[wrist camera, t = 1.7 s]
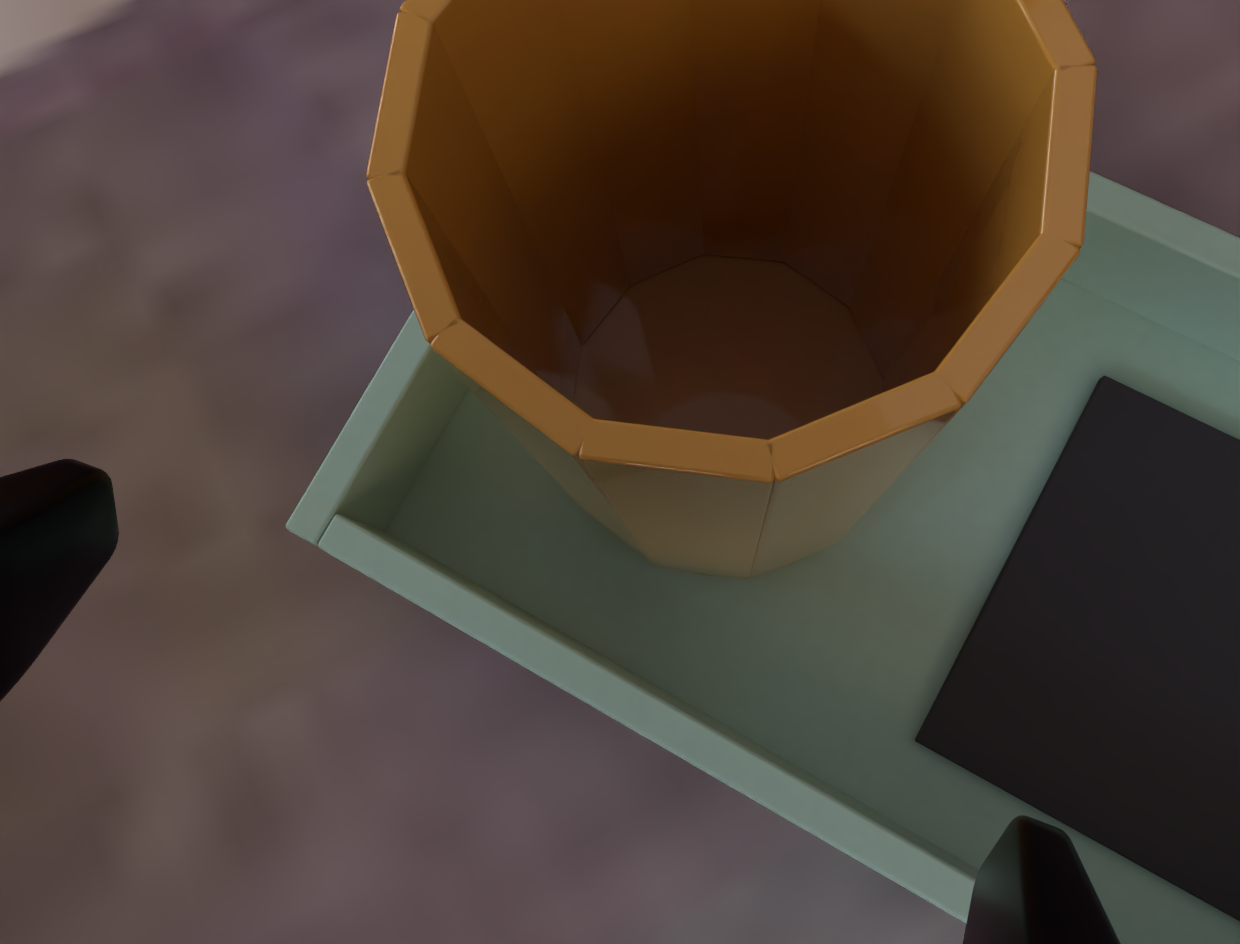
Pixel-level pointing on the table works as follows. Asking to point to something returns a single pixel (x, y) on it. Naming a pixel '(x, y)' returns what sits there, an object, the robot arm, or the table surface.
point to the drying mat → (1118, 648)
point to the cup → (730, 239)
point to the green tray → (804, 570)
